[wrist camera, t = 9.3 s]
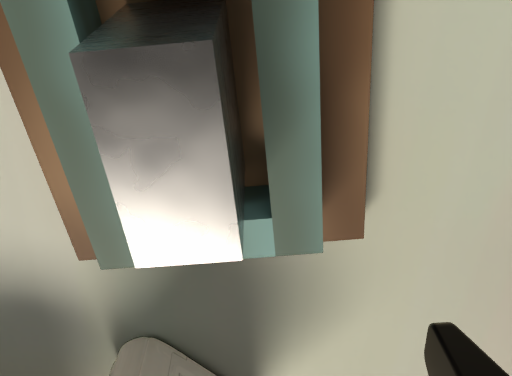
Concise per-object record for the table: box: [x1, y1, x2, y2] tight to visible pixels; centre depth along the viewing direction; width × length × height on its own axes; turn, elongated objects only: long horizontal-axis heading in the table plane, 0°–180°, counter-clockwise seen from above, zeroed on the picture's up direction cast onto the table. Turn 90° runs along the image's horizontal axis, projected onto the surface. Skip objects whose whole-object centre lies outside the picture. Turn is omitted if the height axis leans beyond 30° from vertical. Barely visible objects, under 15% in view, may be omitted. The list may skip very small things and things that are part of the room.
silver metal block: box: [69, 0, 245, 268], centre depth 15 cm, size 4×7×6 cm, turn 5°
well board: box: [0, 0, 374, 270], centre depth 17 cm, size 14×16×4 cm
